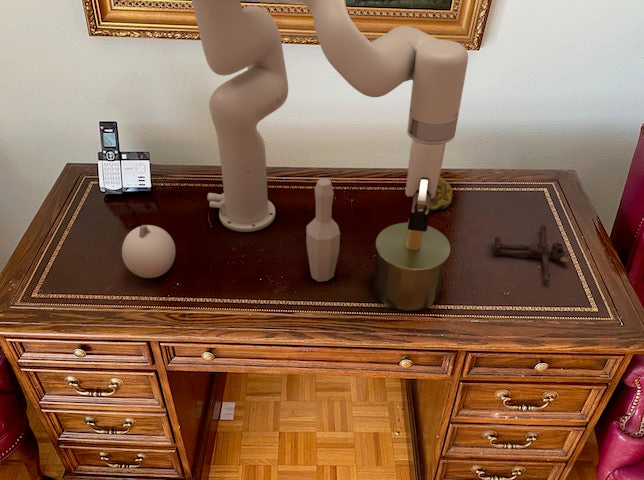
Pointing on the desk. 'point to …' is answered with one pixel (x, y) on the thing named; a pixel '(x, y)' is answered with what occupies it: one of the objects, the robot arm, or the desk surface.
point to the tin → (406, 286)
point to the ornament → (148, 251)
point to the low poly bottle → (323, 234)
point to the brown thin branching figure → (534, 251)
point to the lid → (412, 248)
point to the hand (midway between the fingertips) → (419, 213)
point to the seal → (440, 196)
